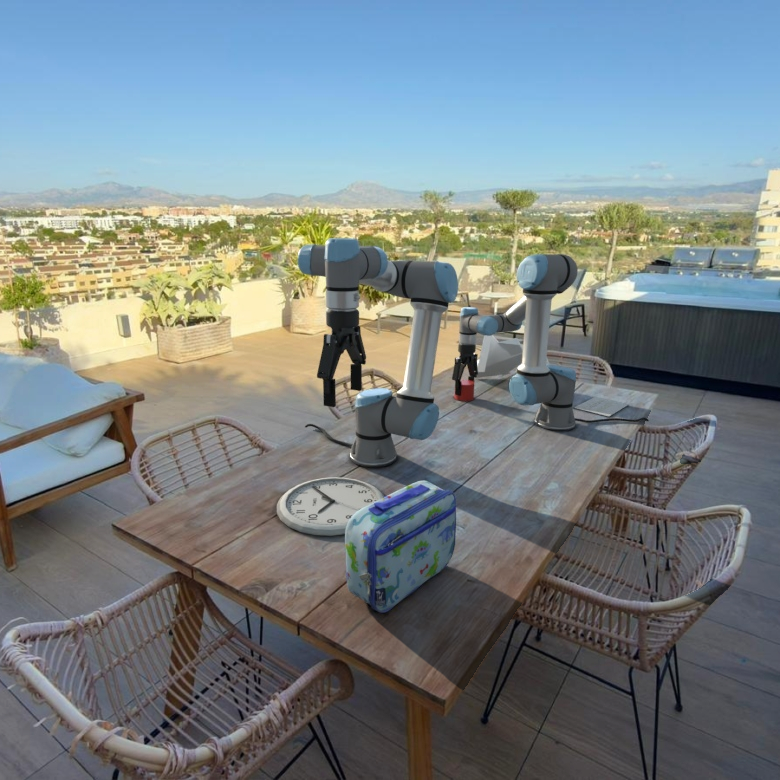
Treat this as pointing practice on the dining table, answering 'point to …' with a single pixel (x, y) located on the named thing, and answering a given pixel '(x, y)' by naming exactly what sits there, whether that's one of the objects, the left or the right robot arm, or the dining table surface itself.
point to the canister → (466, 391)
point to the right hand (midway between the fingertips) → (464, 392)
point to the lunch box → (399, 543)
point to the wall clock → (325, 504)
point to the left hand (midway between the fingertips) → (343, 397)
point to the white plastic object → (499, 356)
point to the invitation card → (601, 406)
